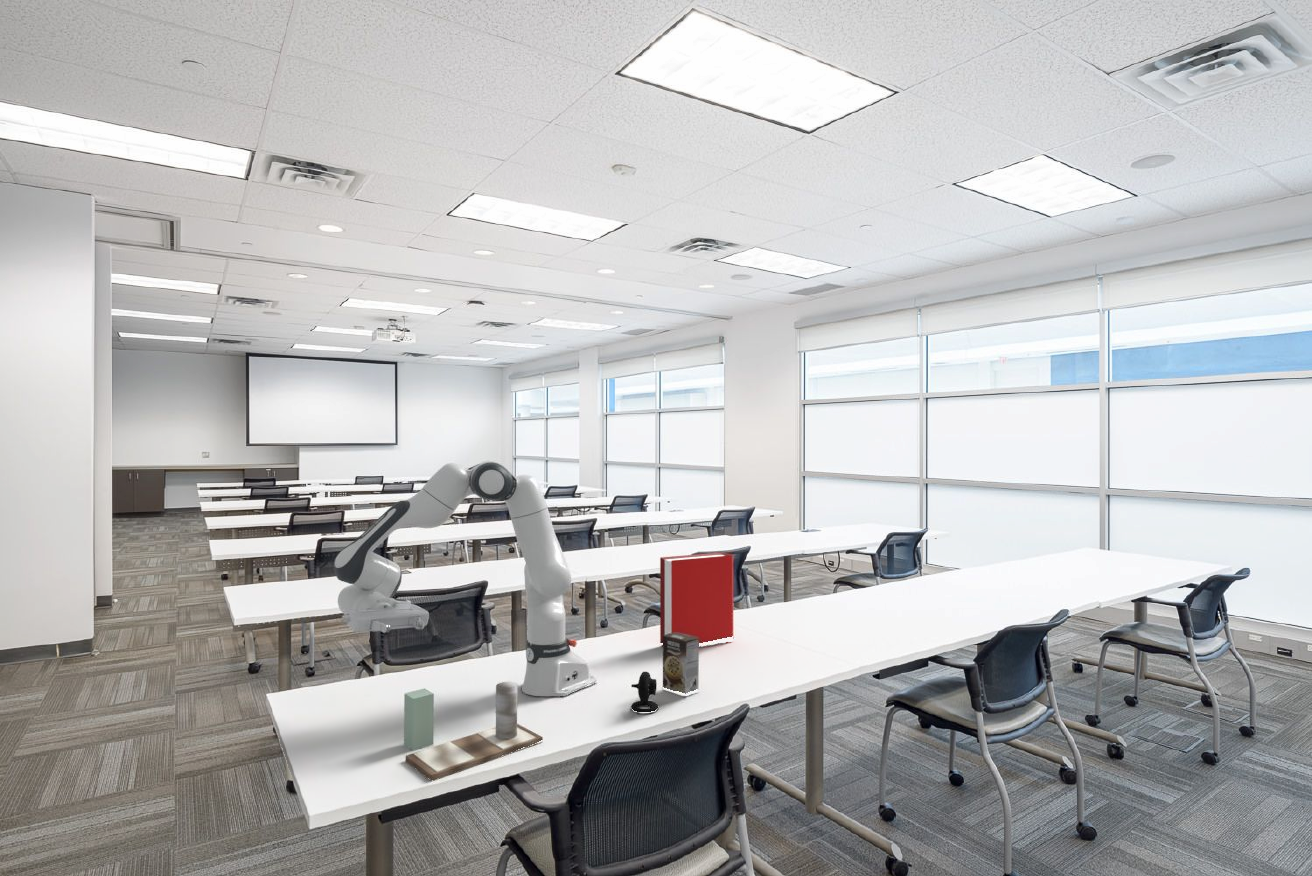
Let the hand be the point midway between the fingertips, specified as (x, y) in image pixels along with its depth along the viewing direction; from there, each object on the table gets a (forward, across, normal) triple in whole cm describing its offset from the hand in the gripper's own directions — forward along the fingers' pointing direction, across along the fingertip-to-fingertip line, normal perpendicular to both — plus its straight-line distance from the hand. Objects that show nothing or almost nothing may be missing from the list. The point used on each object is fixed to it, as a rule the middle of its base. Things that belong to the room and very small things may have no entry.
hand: (405, 627), depth 169 cm
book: (+14, +112, +12) cm, 113 cm away
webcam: (+40, +51, +16) cm, 67 cm away
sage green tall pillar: (+13, +1, +24) cm, 28 cm away
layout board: (+27, +7, +22) cm, 35 cm away
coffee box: (+39, +68, +14) cm, 80 cm away
